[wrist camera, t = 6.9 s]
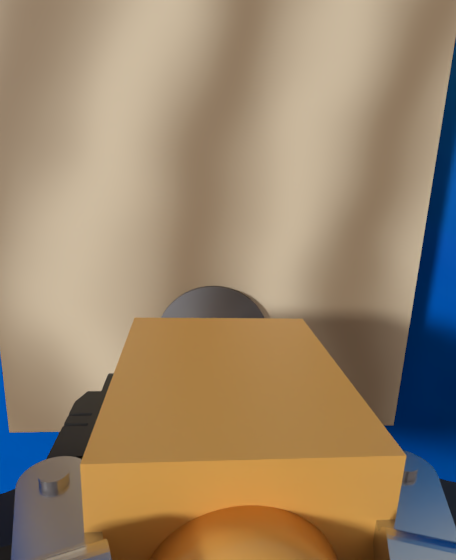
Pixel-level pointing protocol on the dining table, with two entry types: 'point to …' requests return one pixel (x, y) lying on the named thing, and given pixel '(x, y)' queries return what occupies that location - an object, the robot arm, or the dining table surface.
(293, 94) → the board
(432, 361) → the dining table surface
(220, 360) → the cube with dome
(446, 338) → the dining table surface
